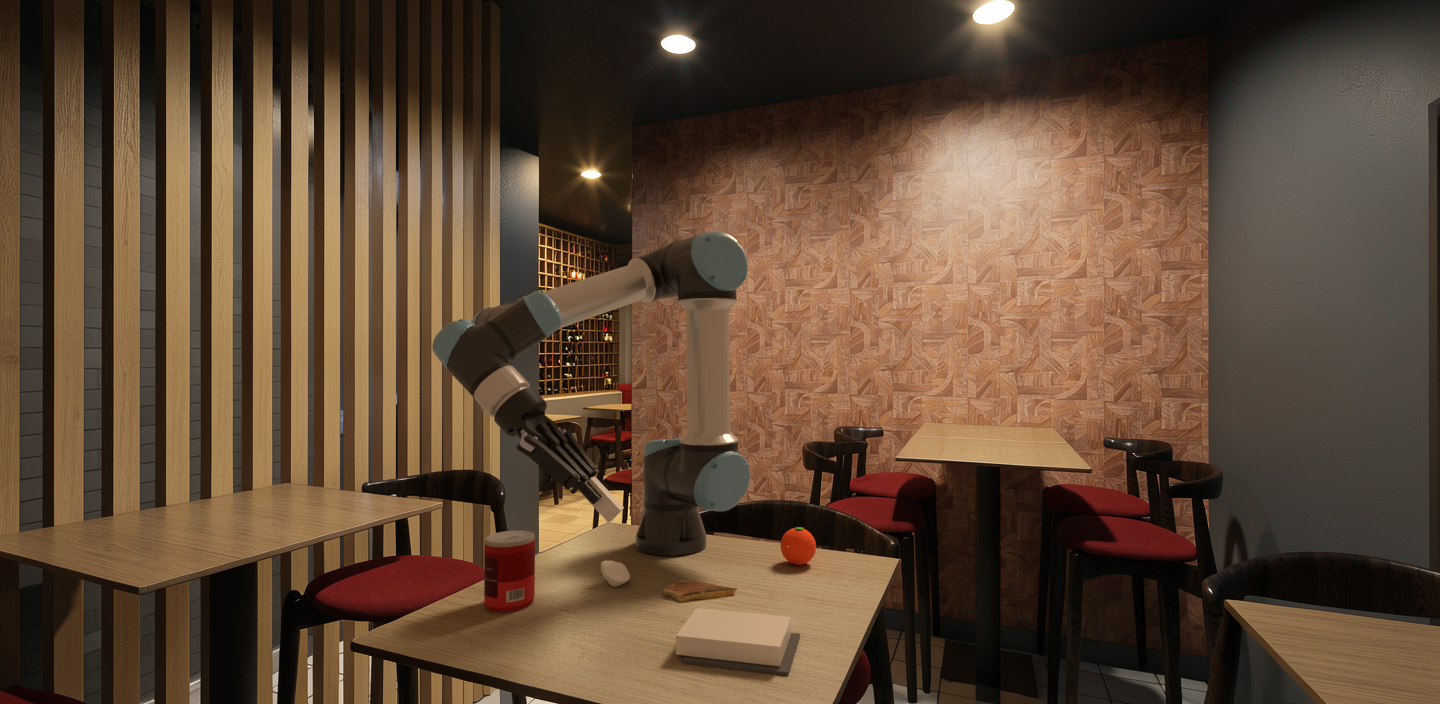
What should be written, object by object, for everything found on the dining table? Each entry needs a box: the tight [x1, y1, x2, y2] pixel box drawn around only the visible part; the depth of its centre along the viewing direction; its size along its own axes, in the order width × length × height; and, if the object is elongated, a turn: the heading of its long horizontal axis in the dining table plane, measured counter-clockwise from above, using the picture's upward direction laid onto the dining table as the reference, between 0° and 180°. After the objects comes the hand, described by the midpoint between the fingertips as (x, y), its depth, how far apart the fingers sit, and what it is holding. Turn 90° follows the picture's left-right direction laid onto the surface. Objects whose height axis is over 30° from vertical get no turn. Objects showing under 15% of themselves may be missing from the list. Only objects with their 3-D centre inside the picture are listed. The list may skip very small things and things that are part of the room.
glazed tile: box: [675, 607, 792, 666], centre depth 90 cm, size 10×3×14 cm
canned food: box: [483, 530, 536, 613], centre depth 106 cm, size 8×8×11 cm
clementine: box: [779, 526, 817, 566], centre depth 127 cm, size 8×7×7 cm
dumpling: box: [600, 560, 631, 588], centre depth 115 cm, size 7×5×4 cm
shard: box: [662, 579, 738, 603], centre depth 110 cm, size 11×8×2 cm
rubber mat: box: [681, 632, 801, 676], centre depth 89 cm, size 12×14×1 cm
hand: (616, 515), depth 96 cm, fingers closed
